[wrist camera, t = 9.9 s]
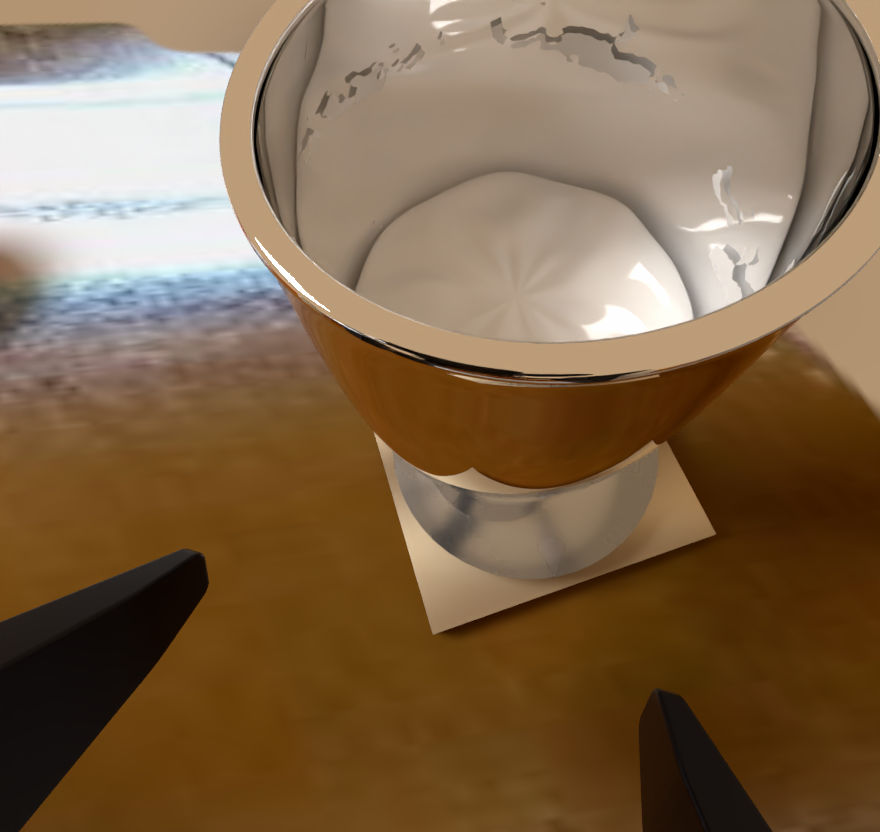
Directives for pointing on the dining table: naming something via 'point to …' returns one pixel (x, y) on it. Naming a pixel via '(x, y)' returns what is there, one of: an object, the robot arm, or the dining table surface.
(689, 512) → the base plate
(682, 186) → the beer glass
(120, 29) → the dining table surface
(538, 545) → the flange
